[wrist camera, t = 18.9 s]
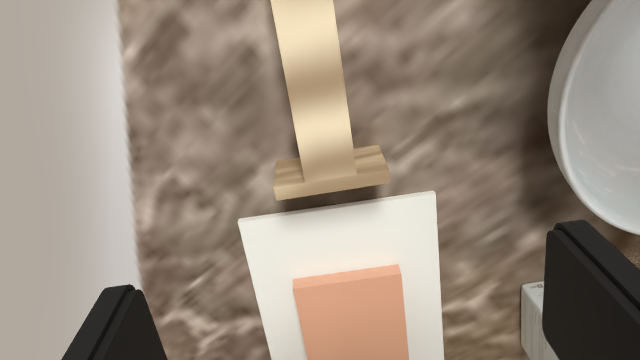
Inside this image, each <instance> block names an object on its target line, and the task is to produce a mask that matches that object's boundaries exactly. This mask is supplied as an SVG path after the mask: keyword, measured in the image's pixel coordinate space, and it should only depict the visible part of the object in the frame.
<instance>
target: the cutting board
mask: <svg viewBox="0 0 640 360" xmlns="http://www.w3.org/2000/svg"><path fill="white" fill-rule="evenodd" d="M238 224H239V228H240V232H241V237H242V241H243V245H244V249H245V253H246V257H247V261H248V265H249V269H250V273H251V277H252V281H253V285H254V290H255V294H256V298H257V302H258V306H259V310H260V314H261V318H262V322H263V326H264V330H265V334H266V338H267V343H268V347H269V351H270V355H271V359H272V360H307V355H306V350H305V345H304V340H303V336H302V331H301V326H300V321H299V316H298V311H297V306H296V301H295V297H294V292H293V279H296V278H303V277H310V276H317V275H324V274H331V273H338V272H346V271H353V270H360V269H367V268H374V267H381V266H388V265H395V264H398V265H399V268H400V271H401V275H402V286H403V297H404V308H405V319H406V330H407V341H408V352H409V360H444V349H443V330H442V310H441V291H440V272H439V252H438V233H437V214H436V194H435V192H434V190H433V191H426V192H420V193H413V194H406V195H399V196H392V197H385V198H378V199H372V200H365V201H358V202H351V203H344V204H337V205H330V206H323V207H317V208H310V209H303V210H296V211H289V212H282V213H275V214H268V215H262V216H255V217H248V218H241V219H239V220H238Z"/></svg>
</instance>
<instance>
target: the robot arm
mask: <svg viewBox="0 0 640 360" xmlns="http://www.w3.org/2000/svg"><path fill="white" fill-rule="evenodd" d="M542 329H543V333H544V336H545V338H546V340H547V342H548V343H549V345H550V346H551V348H552V349H553V351H554V353H555V354H556V356H557V357H558V359H559V360H640V270H639V269H638V268H637V267H636V266H635V265H634V264H633V263H632V262H630V261H629V260H628V259H627V258H626V257H625V256H624V255H623V254H622V253H621V252H620V251H618V250H617V249H616V248H615V247H614V246H613V245H612V244H611V243H610V242H609V241H608V240H606V239H605V238H604V237H603V236H602V235H601V234H600V233H599V232H598V231H597V230H595V229H594V228H593V227H592V226H591V225H590V224H589V223H588V222H586V221H585V220H577V221H570V222H563V223H557V224H556V225H555V227H554V230H552V231H549V232H548V233H547V239H546V257H545V275H544V293H543V311H542ZM62 360H167V357H166V354H165V351H164V349H163V346H162V343H161V340H160V338H159V335H158V332H157V329H156V327H155V324H154V321H153V318H152V316H151V313H150V310H149V307H148V305H147V302H146V299H145V296H144V294H143V292H142V291H141V290H139V289H138V290H135V288H134V287H133V285H130V284H129V285H122V286H116V287H108V288H105V289H104V290H103V291H102V293H101V294H100V296H99V298H98V299H97V301H96V303H95V304H94V306H93V308H92V309H91V311H90V313H89V314H88V316H87V318H86V319H85V321H84V323H83V324H82V326H81V328H80V329H79V331H78V333H77V334H76V336H75V338H74V339H73V341H72V343H71V344H70V346H69V348H68V350H67V351H66V353H65V355H64V356H63V358H62Z"/></svg>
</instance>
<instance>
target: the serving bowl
mask: <svg viewBox="0 0 640 360" xmlns="http://www.w3.org/2000/svg"><path fill="white" fill-rule="evenodd" d="M547 115H548V130H549V137H550V141H551V146H552V149H553V152H554V155H555V158H556V161H557V163H558V166H559V168H560V170H561V172H562V174H563V176H564V177H565V179H566V181H567V182H568V184H569V185H570V187H571V188H572V190H573V191H574V193H575V194H576V195H577V197H578V198H579V199H580V201H581V202H582V203H583V204H584V205H585V206H586V207H587V208H588V209H589V210H591V211H592V212H593V213H594V214H595V215H597V216H598V217H599V218H601V219H602V220H604V221H605V222H607V223H609V224H611V225H613V226H615V227H617V228H619V229H622V230H624V231H627V232H630V233H634V234H638V235H640V0H592V1H591V2H590V3H589V5H588V6H587V7H586V9H585V10H584V11H583V13H582V14H581V15H580V17H579V18H578V20H577V22H576V23H575V25H574V26H573V28H572V30H571V32H570V33H569V35H568V37H567V39H566V41H565V43H564V45H563V47H562V50H561V52H560V54H559V57H558V59H557V62H556V65H555V68H554V72H553V76H552V79H551V84H550V89H549V96H548V109H547Z"/></svg>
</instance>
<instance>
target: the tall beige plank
mask: <svg viewBox="0 0 640 360" xmlns="http://www.w3.org/2000/svg"><path fill="white" fill-rule="evenodd" d="M271 5H272V11H273V16H274V21H275V26H276V32H277V37H278V42H279V48H280V53H281V58H282V64H283V69H284V74H285V80H286V85H287V90H288V96H289V101H290V106H291V112H292V117H293V122H294V128H295V133H296V138H297V143H298V149H299V154H300V157H299V158H293V159H286V160H280V161H277V162H276V170H275V178H274V187H273V189H274V193H275V198H276V201H279V200H285V199H291V198H298V197H304V196H310V195H317V194H323V193H329V192H336V191H342V190H348V189H355V188H361V187H367V186H374V185H380V184H386V183H390V175H389V169H388V166H387V164H386V162H385V159H384V157H383V155H382V152H381V150H380V147H379V145H373V146H367V147H361V148H355V149H353V143H352V135H351V128H350V121H349V114H348V106H347V99H346V92H345V85H344V78H343V70H342V63H341V56H340V49H339V41H338V34H337V27H336V20H335V12H334V5H333V0H271Z"/></svg>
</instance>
